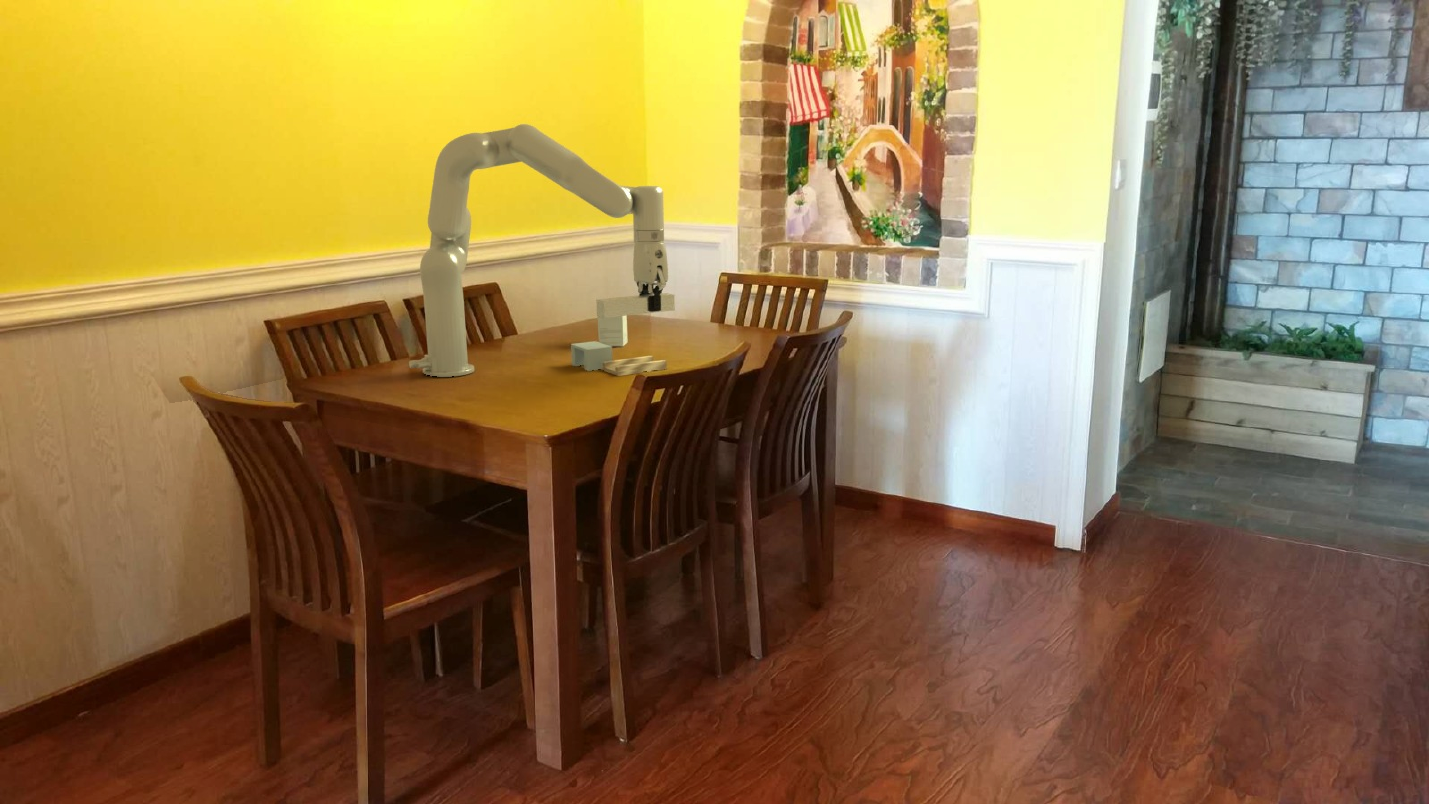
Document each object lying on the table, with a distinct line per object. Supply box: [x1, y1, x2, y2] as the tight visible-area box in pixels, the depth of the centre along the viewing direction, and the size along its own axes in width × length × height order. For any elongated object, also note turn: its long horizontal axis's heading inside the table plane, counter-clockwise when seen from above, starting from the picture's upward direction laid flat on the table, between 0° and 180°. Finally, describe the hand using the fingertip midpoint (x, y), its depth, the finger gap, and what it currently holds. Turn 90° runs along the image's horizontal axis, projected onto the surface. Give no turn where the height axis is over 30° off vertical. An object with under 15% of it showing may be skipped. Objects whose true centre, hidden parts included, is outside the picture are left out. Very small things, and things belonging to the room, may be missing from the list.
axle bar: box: [596, 292, 675, 318], centre depth 259 cm, size 20×4×4 cm, turn 124°
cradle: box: [602, 355, 668, 377], centre depth 263 cm, size 14×8×2 cm, turn 124°
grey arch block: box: [570, 341, 614, 372], centre depth 267 cm, size 7×9×6 cm
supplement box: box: [597, 315, 629, 347], centre depth 295 cm, size 7×7×13 cm
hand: (650, 309), depth 262 cm, fingers closed on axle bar, 4 cm apart
